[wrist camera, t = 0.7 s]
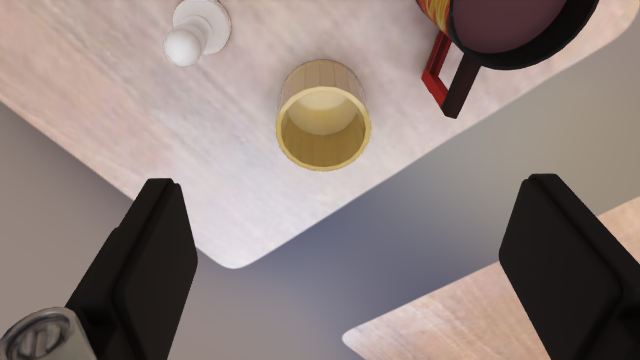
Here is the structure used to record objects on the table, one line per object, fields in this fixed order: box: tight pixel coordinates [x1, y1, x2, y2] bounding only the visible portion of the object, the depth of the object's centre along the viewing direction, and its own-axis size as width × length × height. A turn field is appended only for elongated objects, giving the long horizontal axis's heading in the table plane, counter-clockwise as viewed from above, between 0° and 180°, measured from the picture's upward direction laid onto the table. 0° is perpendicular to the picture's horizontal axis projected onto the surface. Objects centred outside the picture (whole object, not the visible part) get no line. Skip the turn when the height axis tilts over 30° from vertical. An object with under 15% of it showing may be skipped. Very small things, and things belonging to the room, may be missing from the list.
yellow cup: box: [276, 60, 371, 171], centre depth 39 cm, size 9×9×7 cm
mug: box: [416, 0, 599, 119], centre depth 31 cm, size 10×14×12 cm
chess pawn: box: [163, 0, 231, 67], centre depth 34 cm, size 5×5×9 cm
